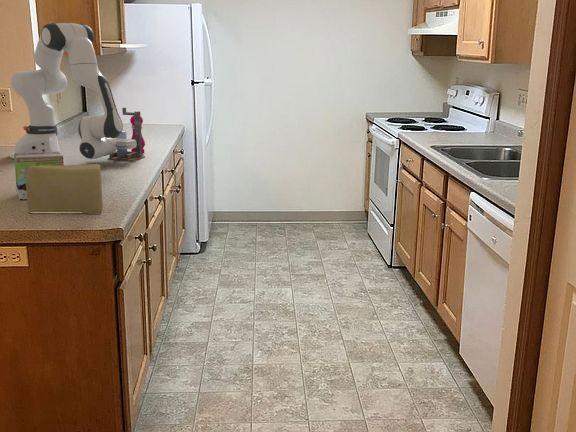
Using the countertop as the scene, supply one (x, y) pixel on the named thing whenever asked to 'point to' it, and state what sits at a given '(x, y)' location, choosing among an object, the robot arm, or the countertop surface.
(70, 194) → the olive green box
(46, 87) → the robot arm
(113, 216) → the countertop surface
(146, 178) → the countertop surface
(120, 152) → the grey tapered cup
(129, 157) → the hanger stand
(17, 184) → the tea box
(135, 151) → the pepper mill
